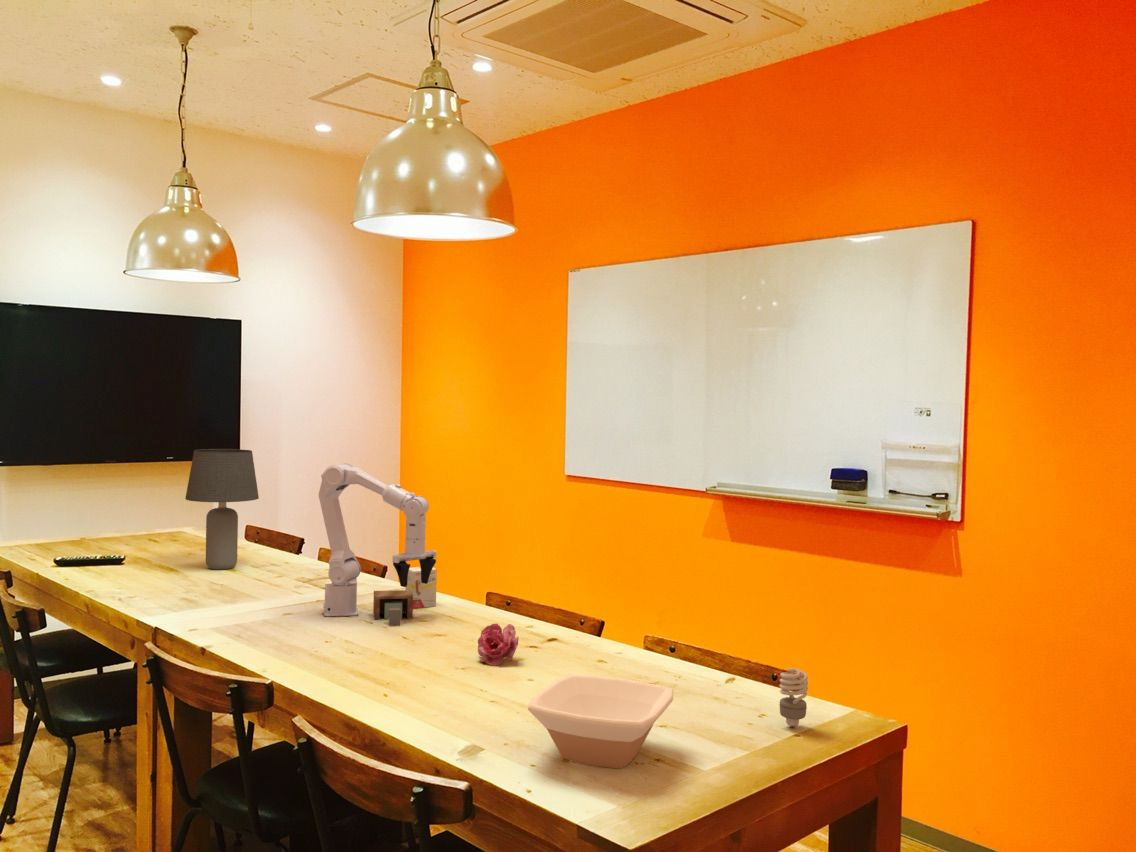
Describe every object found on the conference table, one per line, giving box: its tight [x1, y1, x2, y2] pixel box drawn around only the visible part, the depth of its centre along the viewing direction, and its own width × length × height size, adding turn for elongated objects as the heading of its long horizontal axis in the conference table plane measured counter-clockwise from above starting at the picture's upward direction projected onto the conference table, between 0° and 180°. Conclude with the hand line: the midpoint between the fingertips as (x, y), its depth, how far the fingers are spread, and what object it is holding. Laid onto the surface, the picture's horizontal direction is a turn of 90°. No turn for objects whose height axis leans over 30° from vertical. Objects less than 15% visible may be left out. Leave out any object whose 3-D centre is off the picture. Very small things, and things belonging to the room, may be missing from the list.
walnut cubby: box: [372, 589, 414, 621], centre depth 273 cm, size 11×8×7 cm
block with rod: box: [383, 599, 403, 627], centre depth 268 cm, size 5×14×4 cm, turn 13°
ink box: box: [404, 566, 438, 610], centre depth 287 cm, size 9×5×12 cm, turn 126°
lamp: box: [185, 448, 260, 571], centre depth 339 cm, size 25×25×43 cm
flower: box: [477, 623, 519, 667], centre depth 230 cm, size 11×10×10 cm
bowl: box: [527, 673, 674, 769], centre depth 172 cm, size 24×25×11 cm
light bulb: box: [778, 667, 809, 728], centre depth 188 cm, size 6×6×12 cm
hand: (414, 584), depth 270 cm, fingers open, 7 cm apart
